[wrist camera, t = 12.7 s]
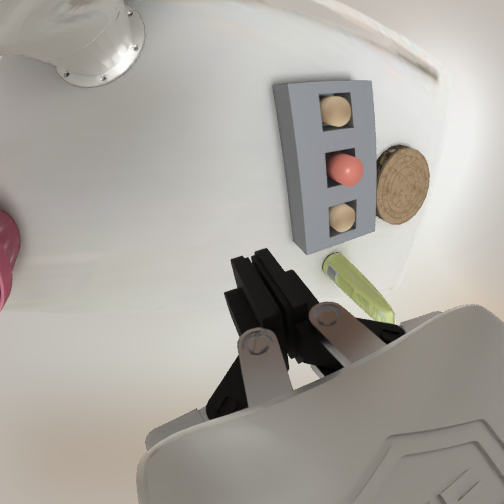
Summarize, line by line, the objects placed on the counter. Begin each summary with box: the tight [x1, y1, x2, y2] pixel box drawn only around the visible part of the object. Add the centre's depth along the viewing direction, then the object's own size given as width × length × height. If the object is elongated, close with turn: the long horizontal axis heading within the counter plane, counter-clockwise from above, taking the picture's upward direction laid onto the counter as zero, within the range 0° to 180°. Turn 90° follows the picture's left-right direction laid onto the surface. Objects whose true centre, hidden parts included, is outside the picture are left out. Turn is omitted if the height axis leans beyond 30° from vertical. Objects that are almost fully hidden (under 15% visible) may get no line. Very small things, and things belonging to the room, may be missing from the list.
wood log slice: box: [376, 145, 430, 225], centre depth 49 cm, size 16×16×3 cm
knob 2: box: [328, 203, 355, 232], centre depth 45 cm, size 4×4×4 cm
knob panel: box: [273, 80, 377, 255], centre depth 41 cm, size 26×14×5 cm, turn 10°
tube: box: [323, 253, 396, 325], centre depth 47 cm, size 6×5×20 cm
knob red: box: [325, 151, 363, 187], centre depth 39 cm, size 4×4×4 cm
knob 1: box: [319, 96, 351, 127], centre depth 36 cm, size 4×4×4 cm
